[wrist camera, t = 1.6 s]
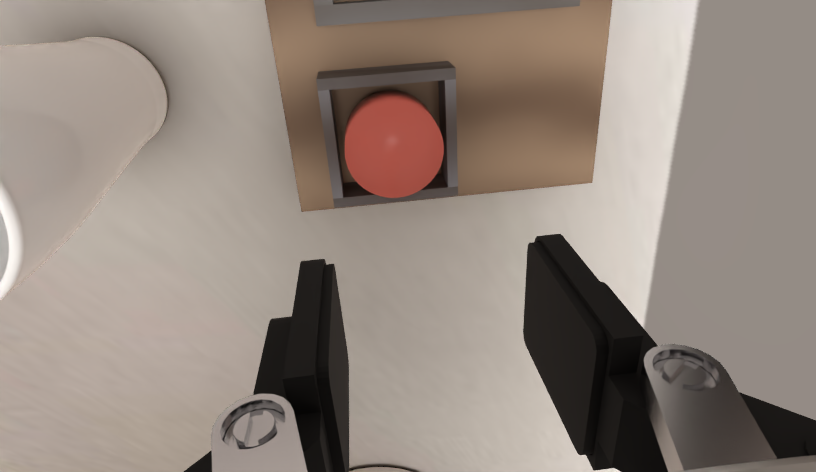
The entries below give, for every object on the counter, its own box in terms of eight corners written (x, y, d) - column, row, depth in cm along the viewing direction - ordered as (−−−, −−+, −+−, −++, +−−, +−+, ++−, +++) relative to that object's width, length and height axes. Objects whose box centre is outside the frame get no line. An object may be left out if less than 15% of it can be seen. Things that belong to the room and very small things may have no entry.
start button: (437, 174, 26) (445, 193, 24) (350, 183, 26) (350, 202, 24) (433, 86, 24) (442, 97, 22) (339, 94, 24) (338, 106, 22)
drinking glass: (143, 181, 28) (-41, 372, 15) (14, 100, 25) (-350, 242, 12) (212, 83, 26) (71, 200, 13) (80, -15, 23) (-269, 3, 10)
